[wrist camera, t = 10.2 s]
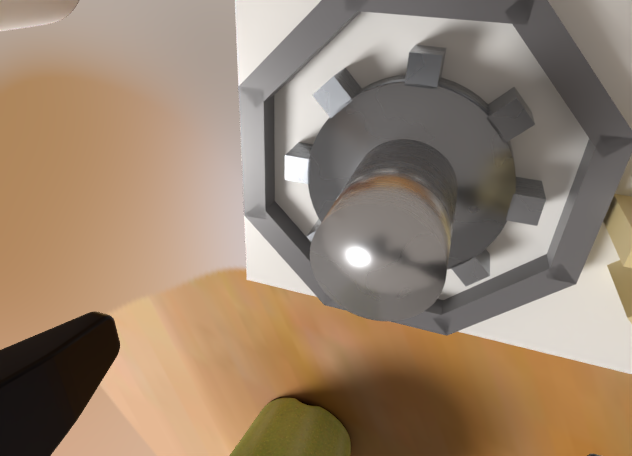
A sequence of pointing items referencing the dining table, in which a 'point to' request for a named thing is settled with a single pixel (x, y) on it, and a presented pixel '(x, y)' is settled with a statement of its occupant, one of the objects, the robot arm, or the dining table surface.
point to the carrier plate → (528, 147)
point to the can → (33, 12)
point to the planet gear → (410, 186)
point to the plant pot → (294, 432)
